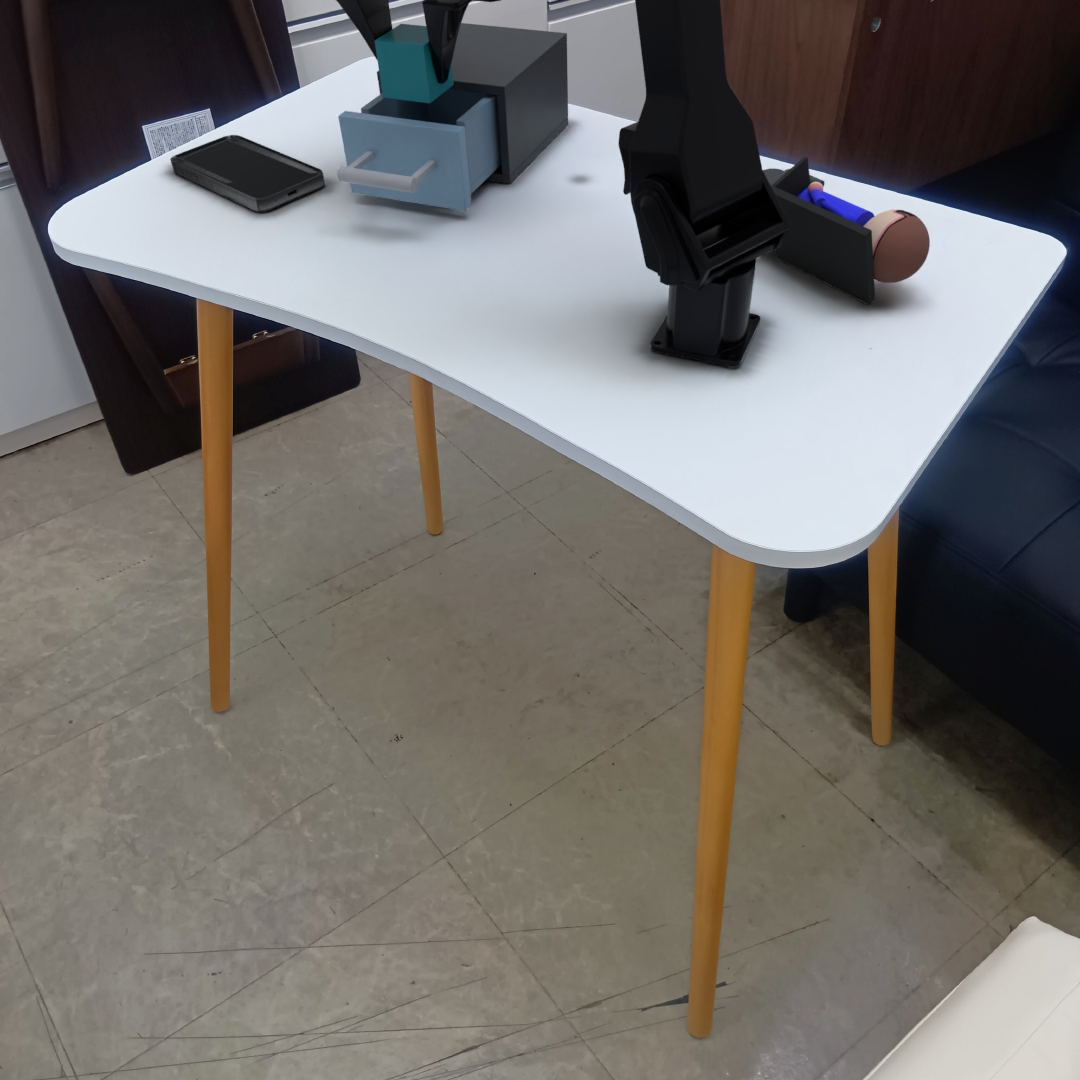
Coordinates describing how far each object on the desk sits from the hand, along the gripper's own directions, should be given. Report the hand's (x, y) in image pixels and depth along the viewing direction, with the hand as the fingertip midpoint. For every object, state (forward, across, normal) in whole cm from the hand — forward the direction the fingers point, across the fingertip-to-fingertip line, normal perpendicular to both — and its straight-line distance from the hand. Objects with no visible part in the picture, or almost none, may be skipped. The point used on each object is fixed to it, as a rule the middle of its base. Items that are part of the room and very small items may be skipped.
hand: (417, 79), depth 82 cm
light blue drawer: (+9, 0, 0) cm, 9 cm away
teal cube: (+1, 0, 0) cm, 1 cm away
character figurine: (+10, -36, +3) cm, 37 cm away
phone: (+10, +18, +3) cm, 21 cm away
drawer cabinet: (+10, 0, -11) cm, 15 cm away
